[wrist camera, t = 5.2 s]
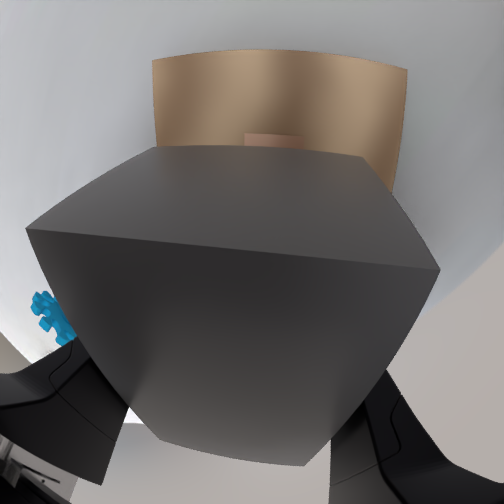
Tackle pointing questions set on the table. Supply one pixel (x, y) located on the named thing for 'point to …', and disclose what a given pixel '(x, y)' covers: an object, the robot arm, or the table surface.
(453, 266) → the table surface
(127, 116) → the table surface
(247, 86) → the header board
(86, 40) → the table surface
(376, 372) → the block
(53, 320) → the gear
